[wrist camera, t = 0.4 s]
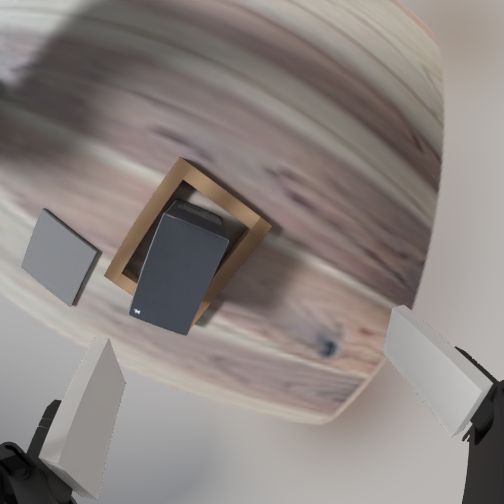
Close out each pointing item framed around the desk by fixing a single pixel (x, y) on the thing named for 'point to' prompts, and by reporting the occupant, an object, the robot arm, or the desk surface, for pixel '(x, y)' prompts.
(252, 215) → the wooden frame
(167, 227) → the small box
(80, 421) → the robot arm
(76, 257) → the mat
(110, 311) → the desk surface
